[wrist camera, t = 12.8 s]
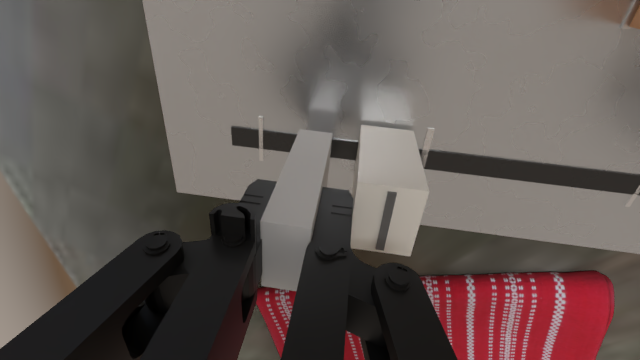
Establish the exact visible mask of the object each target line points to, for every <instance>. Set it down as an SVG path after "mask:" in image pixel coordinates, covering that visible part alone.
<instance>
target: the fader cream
mask: <svg viewBox="0 0 640 360" xmlns="http://www.w3.org/2000/svg"><path fill="white" fill-rule="evenodd" d="M428 195H429V188H428V184H427V180H426V176H425V172H424V169H423V165H422V161H421V157H420V153H419V149H418V146H417V142H416V138H415V134H414V131H411V130H403V129H394V128H385V127H377V126H368V125H361V128H360V135H359V142H358V149H357V156H356V163H355V169H354V176H353V186H352V197H353V199H354V200H353V214H352V228H351V243H350V245H351V248H353V249H361V250H368V251H375V252H382V253H389V254H396V255H403V256H411V253H412V249H413V246H414V242H415V239H416V236H417V232H418V229H419V225H420V222H421V219H422V215H423V212H424V208H425V205H426V201H427V198H428Z"/></svg>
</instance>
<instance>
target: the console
mask: <svg viewBox="0 0 640 360" xmlns="http://www.w3.org/2000/svg"><path fill="white" fill-rule="evenodd" d="M142 1H143V6H144V12H145V18H146V23H147V29H148V34H149V40H150V45H151V51H152V56H153V62H154V67H155V73H156V78H157V84H158V90H159V95H160V101H161V106H162V112H163V117H164V123H165V128H166V134H167V139H168V145H169V150H170V156H171V162H172V167H173V173H174V178H175V184H176V189H177V192H180V193H187V194H195V195H202V196H210V197H217V198H225V199H232V200H241V198H242V196H243V195H244V193H245V191H246V189H247V187H248V186H249V185H250V184H251V183H253V182H254V181H256V180H257V179H262V180H269V181H278V179H279V176H280V174H281V172H282V169H283V167H284V165H285V162H286V160H287V158H288V155H289V153H290V151H291V148H292V146H293V144H294V141H295V139H296V137H297V134H298V132H299V130H300V129H303V130H311V131H319V132H327V133H333V135H332V145H331V154H330V163H329V172H328V182H327V187H328V188H335V189H343V190H349V192H350V193H351V195H352V186H353V176H354V169H355V163H356V156H357V149H358V142H359V135H360V128H361V125H368V126H377V127H385V128H394V129H403V130H411V131H414V134H415V138H416V142H417V146H418V149H419V153H420V157H421V161H422V165H423V169H424V172H425V176H426V180H427V184H428V188H429V195H428V198H427V201H426V205H425V208H424V212H423V215H422V219H421V222H420V225H427V226H434V227H442V228H449V229H456V230H464V231H471V232H479V233H486V234H494V235H501V236H509V237H516V238H524V239H531V240H539V241H546V242H554V243H561V244H569V245H576V246H584V247H591V248H598V249H606V250H613V251H621V252H628V253H636V254H640V29H636V28H632V27H629V26H630V24H631V22H632V20H633V18H634V16H635V14H636V12H637V10H638V8H639V6H640V0H142Z"/></svg>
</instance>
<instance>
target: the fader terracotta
mask: <svg viewBox="0 0 640 360" xmlns="http://www.w3.org/2000/svg"><path fill="white" fill-rule="evenodd" d="M629 27H632V28H636V29H640V6H639V8H638V10H637V12H636V14H635V16H634V18H633V20H632V22H631V24H630V26H629Z"/></svg>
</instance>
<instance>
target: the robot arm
mask: <svg viewBox="0 0 640 360" xmlns="http://www.w3.org/2000/svg"><path fill="white" fill-rule="evenodd" d="M332 135H333V133H327V132H319V131H311V130H303V129H300V130H299V132H298V134H297V137H296V139H295V141H294V144H293V146H292V148H291V151H290V153H289V155H288V158H287V160H286V162H285V165H284V167H283V169H282V172H281V174H280V176H279V179H278V181H269V180H262V179H257V180H256V181H254V182H253V183H251V184H250V185H249V186H248V187H247V189H246V191H245V193H244V195H243V196H242V198H241V200H240V202H239V203H228V204H223V205H220V206H218V207H216V208H214V209H213V210H212V211H211V212H210V213H209V216H210V225H211V233H212V236H211V237H210V239H207V240H202V241H194V242H183V243H182V240H181V238H180V236H179V235H178V234H176V233H174V232H171V231H155V232H152V233H149V234H146V235H144V236H143V237H141V238H139V239H138V240H137V241H135V242H134V243H133V244H132V245H130V246H129V247H128V248H127V249H125V250H124V251H123V252H122V253H120V254H119V255H118V256H116V257H115V258H114V259H113V260H111V261H110V262H109V263H108V264H106V265H105V266H104V267H103V268H101V269H100V270H99V271H98V272H96V273H95V274H94V275H93V276H91V277H90V278H89V279H88V280H86V281H85V282H84V283H83V284H81V285H80V286H79V287H78V288H76V289H75V290H74V291H73V292H71V293H70V294H69V295H67V296H66V297H65V298H64V299H63V300H61V301H60V302H59V303H57V305H55V306H54V307H52V308H51V309H50V310H49V311H48V312H46V313H45V314H44V315H42V316H41V317H40V318H39V319H37V320H36V321H35V322H34V323H32V324H31V325H30V326H29V327H27V328H26V329H25V330H24V331H22V332H21V333H20V334H19V335H17V336H16V337H15V338H13V339H12V340H11V341H10V342H9V343H7V344H6V345H5V346H3V347H2V348H1V349H0V360H237V358H238V355H239V352H240V349H241V346H242V343H243V340H244V337H245V334H246V331H247V328H248V325H249V322H250V319H251V316H252V313H253V310H254V307H255V304H256V301H257V287H258V284H259V281H260V278H261V286H265V287H272V288H278V289H284V290H291V291H296V295H295V299H294V304H293V308H292V313H291V317H290V321H289V326H288V330H287V334H286V339H285V343H284V348H283V352H282V356H281V360H344V350H345V335H346V331H348V332H350V333H352V334H354V335H356V336H358V337H360V341H361V345H362V350H363V354H364V358H365V360H458V359H457V357H456V355H455V352H454V350H453V348H452V346H451V344H450V342H449V339H448V337H447V335H446V333H445V331H444V328H443V326H442V324H441V322H440V320H439V318H438V315H437V313H436V311H435V309H434V307H433V304H432V302H431V300H430V298H429V296H428V294H427V291H426V289H425V287H424V285H423V283H422V280H421V279H420V277H419V276H418V275H417V273H416V272H414V271H413V270H412V269H410V268H409V267H407V266H404V265H402V264H398V263H387V264H383V265H381V266H380V267H378V268H377V269H376V268H374V267H372V266H369V265H367V264H365V263H363V262H362V261H360V260H359V259H358V258H357V257H356V256H355V255H354V254H353V252H352V250H351V245H350V243H351V228H352V214H353V200H354V199H353V197H352V195H351V193H350V192H349V190H343V189H335V188H328V187H327V182H328V172H329V163H330V154H331V145H332Z"/></svg>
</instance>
